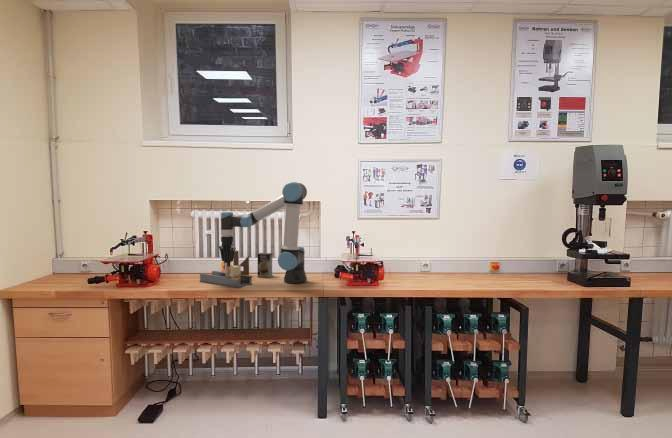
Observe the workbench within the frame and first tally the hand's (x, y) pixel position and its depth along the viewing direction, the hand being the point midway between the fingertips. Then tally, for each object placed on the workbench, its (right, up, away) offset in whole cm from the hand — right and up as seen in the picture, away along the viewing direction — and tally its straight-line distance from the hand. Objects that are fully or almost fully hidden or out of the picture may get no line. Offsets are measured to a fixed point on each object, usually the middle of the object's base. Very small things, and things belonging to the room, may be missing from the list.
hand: (227, 272), depth 236 cm
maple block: (+4, -6, -2) cm, 8 cm away
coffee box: (+20, -6, +22) cm, 30 cm away
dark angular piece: (+3, -6, +22) cm, 23 cm away
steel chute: (-2, -7, +1) cm, 7 cm away
